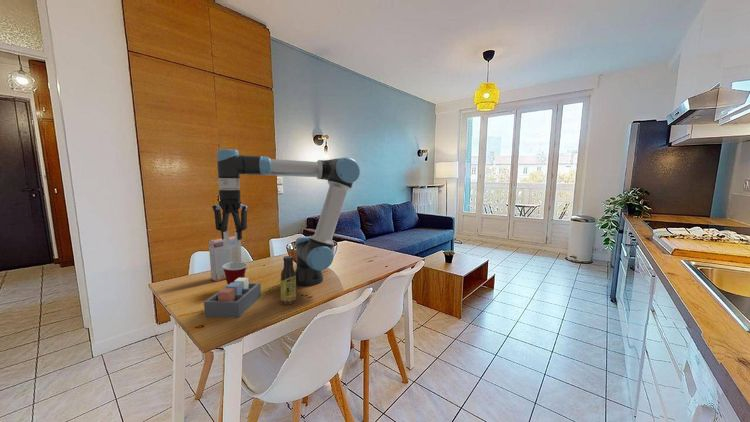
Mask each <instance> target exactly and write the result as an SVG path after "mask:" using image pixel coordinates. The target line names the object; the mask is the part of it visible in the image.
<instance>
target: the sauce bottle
mask: <svg viewBox="0 0 750 422" xmlns="http://www.w3.org/2000/svg"><path fill="white" fill-rule="evenodd" d="M296 299H297V284H296V274H295V268H294V256H293V255H286V256H283V269H282V270H281V272H280V304H282V305H284V306H286V305H287V306H289V305H293V304H295V302H296V301H297V300H296Z"/></svg>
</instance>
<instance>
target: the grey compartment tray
mask: <svg viewBox="0 0 750 422" xmlns="http://www.w3.org/2000/svg"><path fill="white" fill-rule="evenodd" d="M231 283H233V282H231ZM231 283H230V284H231ZM228 285H229V284H227V285H226V286H228ZM226 286H224V287H223V288H222V289H224V288H226ZM222 289H220V290H219V291H221V290H222ZM261 289H262V288H261V282H249V289H242V294H235V301H218V292H219V291H217V292H215V293H214V294H213V295H211V296H210V297H209V298H207V299H206V300H205V301H203V309H204V317H205V318H227V319H228V318H233V319H234V318H236V319H237V318H240V317H241V316H242V315H243V314H244V313H245V312H246V311H247V310H249V309H250V307H251V306H252V305H253V304H254V303H256V301H257V300H258V299H259V298H260V297H261V296H262V295H261Z"/></svg>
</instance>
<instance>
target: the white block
mask: <svg viewBox="0 0 750 422" xmlns="http://www.w3.org/2000/svg"><path fill="white" fill-rule="evenodd" d="M234 283H242V289H249V283H250V281H249V277H244V278H238V279H236V280H235V281H234Z"/></svg>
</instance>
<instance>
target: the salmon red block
mask: <svg viewBox="0 0 750 422" xmlns="http://www.w3.org/2000/svg"><path fill="white" fill-rule="evenodd" d="M223 288H224V287H223ZM223 288H222V290H221V289H220V290H221V291H220V290H219V291H217V292H218V301H235V293H234V288H224V289H223Z"/></svg>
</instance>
